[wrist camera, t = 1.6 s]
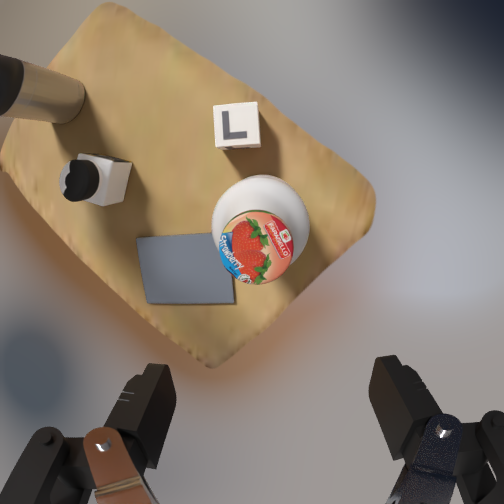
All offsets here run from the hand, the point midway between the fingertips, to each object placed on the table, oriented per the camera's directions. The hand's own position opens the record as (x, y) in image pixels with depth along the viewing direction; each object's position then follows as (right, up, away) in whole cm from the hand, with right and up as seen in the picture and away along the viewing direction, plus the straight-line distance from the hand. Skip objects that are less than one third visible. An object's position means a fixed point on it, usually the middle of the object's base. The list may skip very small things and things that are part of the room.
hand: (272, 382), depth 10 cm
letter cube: (-3, +24, +33) cm, 41 cm away
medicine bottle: (-25, +18, +36) cm, 47 cm away
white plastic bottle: (+1, +12, +36) cm, 38 cm away
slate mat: (-12, +2, +39) cm, 41 cm away
